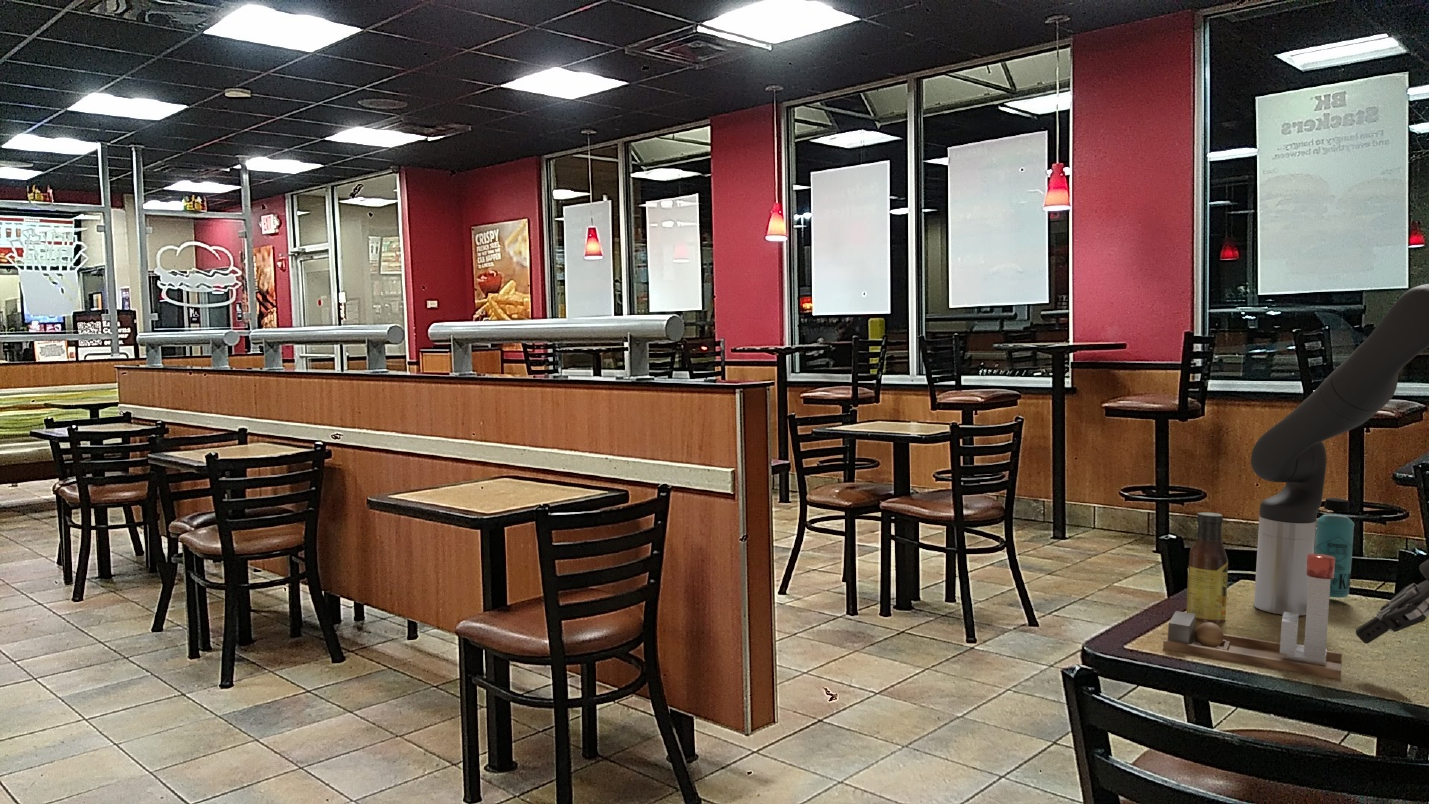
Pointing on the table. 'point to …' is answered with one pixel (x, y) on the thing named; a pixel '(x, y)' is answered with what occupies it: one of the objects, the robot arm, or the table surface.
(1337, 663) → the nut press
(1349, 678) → the table surface
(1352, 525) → the beverage bottle
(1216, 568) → the sauce bottle
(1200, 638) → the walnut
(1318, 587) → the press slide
